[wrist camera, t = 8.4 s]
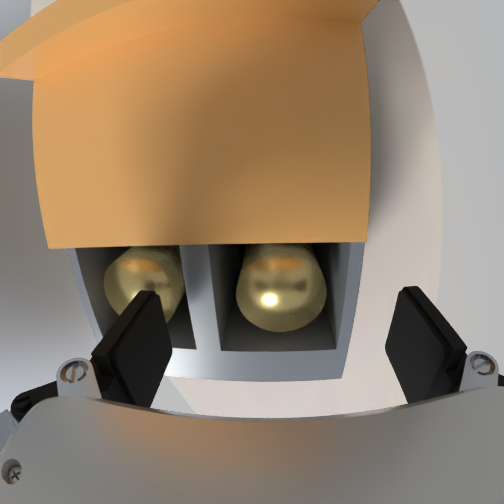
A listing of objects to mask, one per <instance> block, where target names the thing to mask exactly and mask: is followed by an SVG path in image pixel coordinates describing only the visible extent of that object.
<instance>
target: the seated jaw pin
mask: <svg viewBox="0 0 504 504" xmlns="http://www.w3.org/2000/svg"><path fill="white" fill-rule="evenodd" d="M140 290H152V291H155V292H156V294H158V295H159V296H160V298H161V303H162V307H163V311H164V316H165V320H166V323H167V322H168V321H169V320H170V319H171V318H172V316H173V314H174V312H175V310H176V308H177V306H178V305H179V303H180V301H181V299H182V297H183V295H184V293H185V291H186V288H185V281H184V275H183V268H182V262H181V255H180V247H179V245H154V246H131V247H130V248H129V249H128V250H127V251H125V252H124V253H123V254H122V255H121V256H120V257H118V258H117V259H116V260H115V261H114V262H113V263H112V264H110V265H109V267H108V268H107V270H106V272H105V275H104V291H105V294H106V297H107V299H108V301H109V303H110V305H111V306H112V308H113V309H114V310H115V311H116V313H117V314H118V315H119V316H120V315H121V313H122V312H123V311H124V310H125V308H126V307H127V306H128V304H129V303H130V302H131V301H132V299H133V298H134V297H135V296H136V295H137V293H138V292H139V291H140Z"/></svg>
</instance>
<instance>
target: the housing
mask: <svg viewBox="0 0 504 504" xmlns="http://www.w3.org/2000/svg"><path fill="white" fill-rule="evenodd" d="M364 245H365V242H320V243H314V245H313V251H314V253H315V256H316V258H317V261H318V264H319V266H320V269H321V272H322V274H323V277H324V280H325V283H326V289H327V295H326V301H325V304H324V306H323V308H322V310H321V312H320V313H319V314H318V316H317V317H316V318H315V319H314V320H313V321H311V322H310V323H309V324H307V325H305V326H303V327H301V328H299V329H296V330H293V331H287V332H273V331H268V330H265V329H262V328H259V327H258V326H256V325H254V324H253V323H251V322H250V321H249V320H248V319H247V318H246V317H245V316H244V315H243V313H242V312H241V310H240V308H239V306H238V303H237V298H236V290H237V284H238V280H239V276H240V271H241V269H240V257H239V244H198V245H179V247H180V255H181V262H182V268H183V275H184V281H185V288H186V291H185V293H184V295H183V297H182V299H181V301H180V303H179V305H178V306H177V308H176V310H175V312H174V314H173V316H172V318H171V319H170V320H169V321H168V322H167V323H166V324H167V328H168V332H169V336H170V340H171V344H172V348H173V353H172V356H171V359H170V361H169V363H168V366H167V368H166V371H165V373H164V375H167V376H175V377H185V378H196V379H208V380H225V381H255V382H280V381H310V380H326V379H339V378H342V374H343V370H344V366H345V361H346V357H347V352H348V348H349V343H350V338H351V333H352V328H353V322H354V317H355V311H356V305H357V299H358V292H359V286H360V278H361V271H362V263H363V254H364ZM130 247H131V246H117V247H84V248H67V252H68V256H69V260H70V263H71V267H72V271H73V274H74V278H75V281H76V284H77V288H78V291H79V294H80V297H81V300H82V303H83V306H84V309H85V312H86V315H87V317H88V320H89V322H90V325H91V328H92V331H93V333H94V336H95V338H96V340H97V343H98V344H99V342H100V341H101V339H102V338H103V337H104V335H105V334H106V333H107V332H108V330H109V329H110V328H111V326H112V325H113V324H114V322H115V321H116V320H117V318H118V317H119V315H118V314H117V313H116V311H115V310H114V309H113V308H112V306H111V305H110V303H109V301H108V299H107V297H106V294H105V291H104V275H105V272H106V270H107V268H108V267H109V265H110V264H112V263H113V262H114V261H115V260H116V259H117V258H118V257H120V256H121V255H122V254H123V253H124V252H125V251H127V250H128V249H129V248H130Z"/></svg>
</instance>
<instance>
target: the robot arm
mask: <svg viewBox="0 0 504 504" xmlns="http://www.w3.org/2000/svg"><path fill="white" fill-rule="evenodd" d="M466 349H467V346H466V345H465V343H464V342H463V341H462V339H461V338H460V337H459V335H458V334H457V333H456V332H455V330H454V329H453V328H452V326H450V324H449V323H448V322H447V320H446V319H445V318H444V317H443V315H442V314H441V313H440V312H439V310H438V309H437V308H436V307H435V306H434V304H433V303H432V302H431V301H430V300H429V299H428V297H427V296H426V295H425V294H424V293H423V292H422V290H421V289H420V288H419V287H418V286H409V287H404V288H403V289H402V291H400V292H399V294H398V298H397V302H396V306H395V310H394V314H393V318H392V322H391V326H390V330H389V333H388V337H387V341H386V344H385V350H386V354H387V356H388V358H389V360H390V362H391V365H392V367H393V369H394V371H395V374H396V376H397V378H398V381H399V383H400V385H401V388H402V390H403V392H404V395H405V397H406V400H407V402H408V404H405V405H400V406H395V407H389V408H384V409H378V410H372V411H365V412H358V413H350V414H341V415H330V416H318V417H302V418H237V417H219V416H207V415H197V414H188V413H180V412H173V411H165V410H159V409H152V408H150V407H151V404H152V402H153V399H154V397H155V394H156V392H157V389H158V387H159V385H160V382H161V380H162V378H163V375H164V373H165V371H166V368H167V366H168V363H169V361H170V359H171V356H172V353H173V348H172V344H171V340H170V336H169V332H168V328H167V324H166V320H165V316H164V311H163V307H162V303H161V298H160V296H159V295H158V294H156V292H155V291H152V290H140V291H139V292H138V293H137V295H136V296H135V297H134V298H133V299H132V301H131V302H130V303H129V304H128V306H127V307H126V308H125V310H124V311H123V312H122V313H121V315H120V316H119V317H118V318H117V320H116V321H115V322H114V324H113V325H112V326H111V328H110V329H109V330H108V332H107V333H106V334H105V335H104V337H103V338H102V339H101V341H100V342H99V344H98V345H97V346H96V348H95V349H94V350H93V352H92V353H91V355H92V358H91V360H90V361H89V360H87V359H84V358H73V359H70V360H68V361H66V362H65V363H63V364H62V365H61V366H60V367H59V369H58V371H57V375H56V378H57V381H54V382H51V383H49V384H46V385H43V386H41V387H37V388H35V389H32V390H29V391H26V392H23V393H21V394H19V395H18V396H17V397H16V398H15V399H14V400H13V402H12V404H11V411H10V412H9V411H8V410H7V409H6V410H5V411H3V412H2V413H0V504H504V376H502V375H500V374H498V372H499V368H498V364H497V362H496V360H495V359H494V358H493V357H492V356H491V355H489V354H487V353H485V352H481V351H474V352H471V353H470V354H469V355H467V354H466V353H465V351H466Z"/></svg>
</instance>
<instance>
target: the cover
mask: <svg viewBox="0 0 504 504" xmlns="http://www.w3.org/2000/svg"><path fill="white" fill-rule="evenodd" d="M378 1H379V0H57V1H56V2H54V3H52V4H51V5H49V6H48V7H46V8H44V9H43V10H41V11H40V12H38V13H37V14H35V15H34V16H33V17H31V18H30V19H28V20H27V21H26V22H24V23H23V24H21V25H20V26H19V27H17V28H16V29H15V30H14V31H12V32H11V33H10V34H9V35H7V36H6V37H5V38H4V39H3V40H1V41H0V77H1V78H14V79H25V80H34V88H33V149H34V162H35V172H36V182H37V189H38V196H39V203H40V208H41V214H42V219H43V224H44V229H45V233H46V238H47V242H48V247H49V249H52V248H84V247H117V246H154V245H198V244H249V243H320V242H367V231H368V219H369V204H370V182H371V120H370V99H369V85H368V74H367V64H366V55H365V47H364V40H363V33H362V27H361V22H362V21H363V20H364V19H365V17H366V16H367V15H368V14H369V12H370V11H371V10H372V9H373V7H374V6H375V5H376V4H377V3H378Z"/></svg>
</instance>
